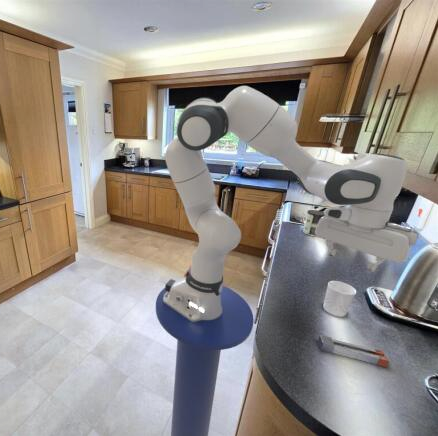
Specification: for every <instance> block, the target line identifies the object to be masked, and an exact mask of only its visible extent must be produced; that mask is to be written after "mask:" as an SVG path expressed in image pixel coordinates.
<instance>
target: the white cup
mask: <svg viewBox="0 0 438 436" xmlns="http://www.w3.org/2000/svg"><path fill="white" fill-rule="evenodd" d="M356 294H357V290H356V288H355V287H354V286H352V285H350V284H348V283H346V282H343V281H339V280H330V281H328V282H327V287H326V291H325V295H324V299H323V300H324V301H323V305H322V307H323V309H324V311H325V312H327V313H328V314H330V315H332V316H335V317H339V318H343V317H345V316H347V313H348V311H349V310H350V307H351V306H352V304H353V301H354V299H355V297H356Z"/></svg>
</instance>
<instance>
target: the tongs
mask: <svg viewBox="0 0 438 436" xmlns="http://www.w3.org/2000/svg"><path fill="white" fill-rule="evenodd" d="M317 345H318V346H319V347H318V348H319V349H320V351H323V352H326V353H330V354H335V355H339V356H343V357H346V358H350V359H354V360H358V361H362V362H365V363H369V364H373V365H377V366H379V367H383V368H387V367H388V364H389V363H390V360H389V358H388V357H387V356H385V355H386V354H385V352H384V350H381V349H377V348H370V347H367V346H362V345H358V344H355V343H350V342H346V341H342V340H338V339H334V338H333V337H331V336H327V335H323V334H319V336H318V339H317Z"/></svg>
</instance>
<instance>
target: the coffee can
mask: <svg viewBox="0 0 438 436" xmlns="http://www.w3.org/2000/svg"><path fill="white" fill-rule="evenodd" d="M306 212H307V213H306V218H305V221H304V226H303V228H302V233H303V234H305V235H306V236H307V235H308V236H311V237H317V236H316V234H315V229H316V227H317V224H318V222H319V220H320V219H321V218H322V217H323V216H325V215H324V211H322V210H316V209H308V210H307V211H306Z"/></svg>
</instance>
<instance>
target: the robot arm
mask: <svg viewBox="0 0 438 436" xmlns="http://www.w3.org/2000/svg"><path fill="white" fill-rule="evenodd" d="M175 131H176V136H177V137H175V138H173V139H172V140H171V141H169V142H168V143H167V145H166V146H165V147H164V150H163V155H164V160H165V163H166V167H167V170H168V173H169V176H170V178H171V181H172V182H173V185H174V187H175V189H176V191H177V193H178V195H179V198H180V200H181V202H182V204H183V208H184V211H185V215H186V217H187V220H188V222H189V225H190V227H191V228H192V229H193V231H194V232H195V233H196V234H197V236H198V244H197V248H196V249H195V250H194V251H193V252H192V255H191V263H190V264H191V266H189V267H188V268H189V269H187V270H186V272H185V273H184V275H183V276H181V277H180V278H178V279H176V280H175V279H172V278H170V279H169V280H168V281H167V282H166V283H165V286H164V288H165V290H166V291H167V292H166V293H165V295H164V297H163V302H164V303H166V304H167V305H168V306H170V307H171V308H173V309H174V310H176V311H177V312H179V313H180V314H182V315H183V316H184V317H186V318H187V319H189V320H190V321H192V322H196V321H200V320H213V319H216V318H218V317H219V316H220V315H221V314H222V305H221V291H222V287H223V286H224V276H223V274H224V269H225V268H224V266H225V262H226V258H227V255H228V254H229V252H231V251H233V250H235V249H236V248H237V247H238V245H239V244H240V243H241V240H242V232H241V229H240V227H239V226H238V225H237V223H236V221H235V220H234V219H233V218H232V217H230V216H229V215H228V214H226V213H225V212H223V211H222V210H221V208H220V207H219V205H218V204H217V200H216V190H217V189H216V185H215V183H214V179H213V178H212V175H211V173H210V170H209V168H208V165H207V162H206V160H205V158H204V154H203V150H205V149H208V148H209V147H211V146H212V145H214V144H215V143H217V142H218V141H220V140H221V139H222V138H224V137H225V136H226V135H227V134H232V135H234V136H235V137H237V138H238V139H239V140H241V141H242V142H243V143H244V144H246V146H248V147H250V148H252V149H253V150H255V151H256V152H258V153H260V154H262V155H264V156H266V157H268V158H273V159H274V160H277V161H278V162H279V163H281V164H282V165H283V166H284V167H286V168H287V169H288V170H289V171H290V172H292V173H293V174H294V175H295V176H296V178H297V180H298V182H299V184H300V186H301V188H302V190H303V191H304V192H305V193H307V194H310V195H312V196H316V197H318V198H320V199H322V200H323V201H326V202H329V203H331V204H334V205H336V206H330V207H327V208H326V209H324V211H323V212H324V215H325V216H323V217H322V218H321V219H320V220H319V222H318V224H317V227H316V229H315V234H316V236H315V237H317V238H320V239H322V240H324V241H325V240H326V243H325V245H326V248H327V250H328V251H327V256H330V257H335V256H336V255H337V251H338V250H337V249H336V248H335V247H334V244H337V245H340V246H342V247H346V248H350V249H351V250H355V251H358V252H360V253H364V254H367V255H370V256H373V257H376V258H375V261H376V262H375V263H373V262H372V261H371V262H369V263H367V267H366V270H368V271H369V272H375V271H376V270H377V267H378V266H380V265H381V264H383V263H385V262H386V261H388V262H390V263H393V264H397V265H399V264H400V265H401V264H402V263H405V262H406V261H407V260H408V259H409V256H410V253H411V249H412V246H414V245H415V244H416V243H417V242H418V239H419V234H418V232H417V231H416V230H414V229H413V228H412V227H410V226H407V225H405V226H404V225H401V224H398V223H394V222H391V221H390V218H391V215H392V213H393V210H394V202H395V200H396V198H397V197H398V196H399V194H400V193H401V190H402V187H403V185H404V182H405V178H406V176H407V175H406V174H407V169H408V164H407V160H405V158H402V157H400V156H396V155H392V154H385V153H382V152H381V153H380V152H371V153H368V154H367V155H366V156H364V157H363V158H360V159H358V160H355V161H353V162H349V163H346V164H342V165H341V164H337V163H333V162H330V161H327V160H322V159H317V158H315V157H314V156H313V155H311V154H310V153H309V152H308V151H307V150H306V149H304V148H303V147H302V146H301V145H300V144H299V143H298V142H297V140H296V137H297V134H298V123H297V121H296V120H295V118H294V117H293V116H292V115H291V114H290V112H288V110H286V109H285V108H284V107H283V106H281V105H280V104H279V103H278V102H276V101H275V100H274V99H272V98H271V97H270V96H268V95H265V94H264V93H263V92H261V91H259V90H257V89H256V88H253V87H250V86H248V85H240V86H238V87H236V88H234V89H233V90H231V91H230V92H229V93H228V94H227V95H226V96H225V98H224V99H223V100H222V101H220V102H217V101H216V99H214V98H211V97H208V96H207V97H206V96H201V97H199V98H196V99H195V100H193V101H192V102H190V103H189V104H188V105H186V107H185V108H184V109H183V111H182V112H181V114H180V115H179V117H178V119H177V122H176V130H175Z"/></svg>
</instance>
